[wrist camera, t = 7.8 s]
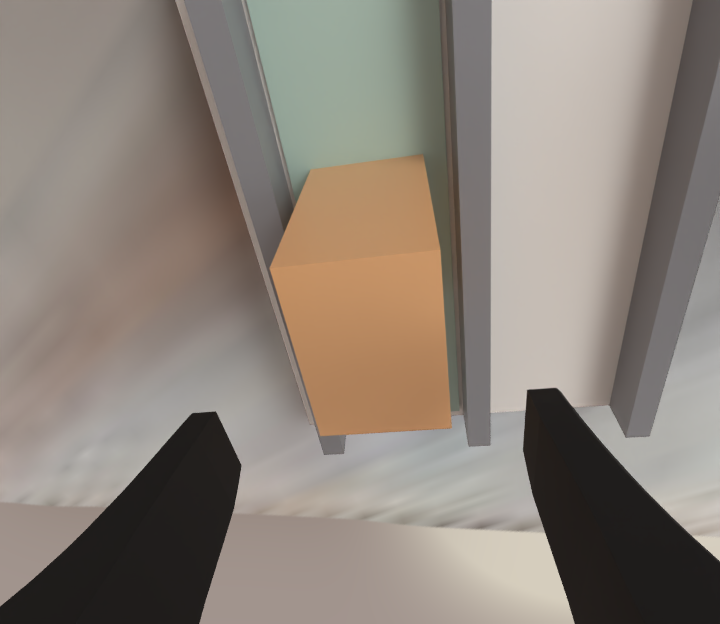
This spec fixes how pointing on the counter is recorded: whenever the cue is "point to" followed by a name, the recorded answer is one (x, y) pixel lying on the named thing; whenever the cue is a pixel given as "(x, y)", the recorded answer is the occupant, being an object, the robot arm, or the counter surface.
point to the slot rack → (495, 169)
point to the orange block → (367, 298)
